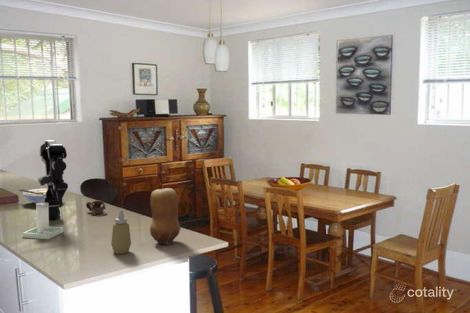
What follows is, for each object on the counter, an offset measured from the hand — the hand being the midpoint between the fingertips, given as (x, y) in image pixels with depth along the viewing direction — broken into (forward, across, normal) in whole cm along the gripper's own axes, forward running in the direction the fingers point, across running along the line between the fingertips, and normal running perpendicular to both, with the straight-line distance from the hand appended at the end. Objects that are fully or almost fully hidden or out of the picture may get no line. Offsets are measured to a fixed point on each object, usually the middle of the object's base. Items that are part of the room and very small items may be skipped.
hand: (57, 200), depth 223 cm
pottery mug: (+13, -18, +25) cm, 33 cm away
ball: (+12, +19, -10) cm, 25 cm away
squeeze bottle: (+13, +55, +12) cm, 58 cm away
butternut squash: (+13, +53, +34) cm, 64 cm away
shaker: (+12, +13, -10) cm, 20 cm away
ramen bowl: (+13, -56, +5) cm, 58 cm away
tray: (+13, +14, -10) cm, 22 cm away
